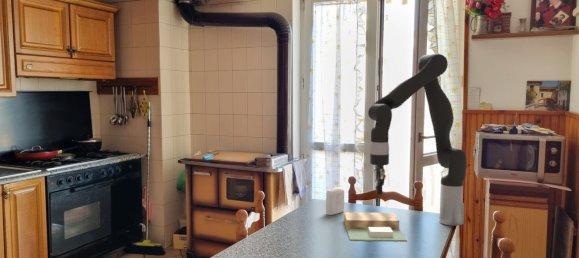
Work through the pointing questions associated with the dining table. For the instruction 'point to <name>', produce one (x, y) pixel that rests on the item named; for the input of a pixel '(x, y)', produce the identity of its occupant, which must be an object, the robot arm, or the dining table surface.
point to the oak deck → (370, 220)
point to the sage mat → (364, 236)
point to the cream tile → (380, 232)
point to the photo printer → (335, 201)
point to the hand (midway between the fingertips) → (379, 194)
